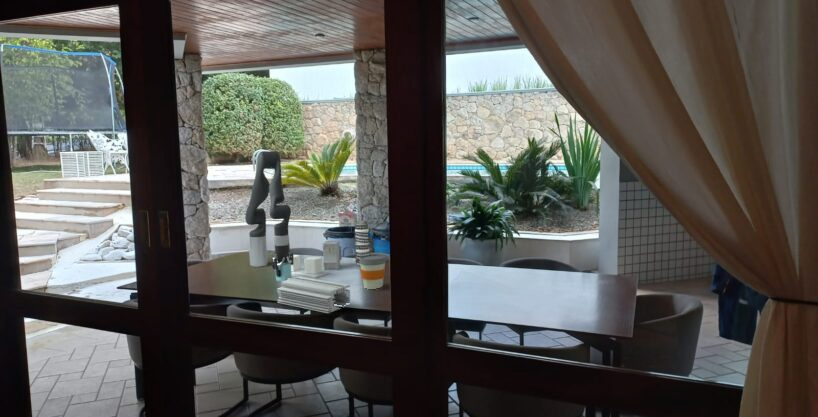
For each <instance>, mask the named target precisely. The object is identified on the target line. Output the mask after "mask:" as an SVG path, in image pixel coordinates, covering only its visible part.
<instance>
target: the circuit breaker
mask: <svg viewBox="0 0 818 417" xmlns="http://www.w3.org/2000/svg"><path fill="white" fill-rule="evenodd" d="M322 254H323V255H322V256H323V261H322V267H323V271H338V270H339V269H340V268H341V260H342V259H343V258H342V255H343V254H342V246H341V245H340V240H326V241H324V242H323V243H322Z"/></svg>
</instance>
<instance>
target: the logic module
mask: <svg viewBox="0 0 818 417" xmlns="http://www.w3.org/2000/svg"><path fill="white" fill-rule="evenodd" d="M278 264H280V263H278ZM278 267H279V266H278ZM280 270H281V277H277V275H276V274H275V280H276V281H277V282H282V281H286V280H287V279H288V278H292V276H291V263H283V264H282V266H281V268H280Z"/></svg>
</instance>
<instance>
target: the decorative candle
mask: <svg viewBox="0 0 818 417" xmlns="http://www.w3.org/2000/svg"><path fill="white" fill-rule="evenodd" d="M354 228H355V229H354V231H353V234H354V245H355V264H356V266H361V265H360V257H361V256H364V255H371V251H370V244H371V243H370V241H371V238H369V237H371V235H370V234H371V233H370V229H369V222H368V221H367V220H365V219H364V220H357V221H356V222H355V223H354Z"/></svg>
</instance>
